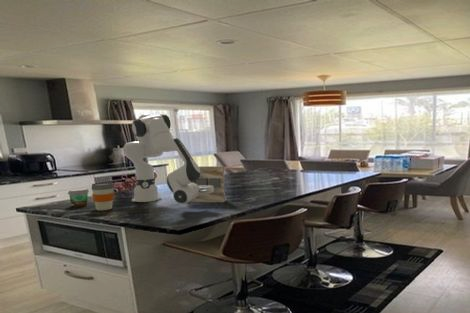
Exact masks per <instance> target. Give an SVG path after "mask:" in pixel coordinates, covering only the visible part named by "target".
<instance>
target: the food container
mask: <svg viewBox="0 0 470 313" xmlns="http://www.w3.org/2000/svg"><path fill="white" fill-rule="evenodd" d="M89 192H90V191H89V188H86V189H84V190H83V189H82V190H81V189H80V190H79V189H78V190H68V192H67V195H68V196H69V200H70V206H71V207H72V206H74V207H73V208H78V207H77V206H80V207H86V206H87V205H88V198H89V196H88V195H89ZM85 205H86V206H85Z"/></svg>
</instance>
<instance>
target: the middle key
mask: <svg viewBox="0 0 470 313" xmlns="http://www.w3.org/2000/svg"><path fill="white" fill-rule="evenodd" d="M197 185H208V178H199V179H198V180H197Z"/></svg>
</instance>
